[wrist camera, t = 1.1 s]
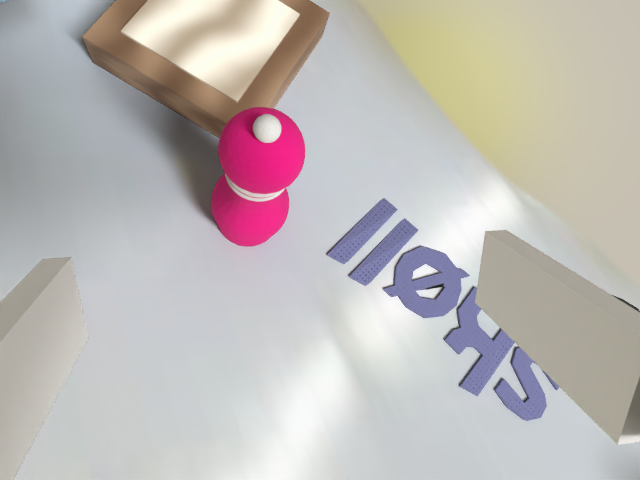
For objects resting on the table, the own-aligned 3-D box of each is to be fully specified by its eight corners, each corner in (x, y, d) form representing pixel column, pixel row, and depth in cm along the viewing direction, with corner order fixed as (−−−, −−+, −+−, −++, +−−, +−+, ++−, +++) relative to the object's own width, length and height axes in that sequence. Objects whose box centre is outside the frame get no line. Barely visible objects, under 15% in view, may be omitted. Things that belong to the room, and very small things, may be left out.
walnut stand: (92, 62, 47) (81, 34, 43) (189, -46, 53) (186, -80, 48) (243, 152, 48) (246, 133, 44) (321, 37, 54) (330, 11, 50)
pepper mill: (213, 253, 45) (210, 177, 26) (209, 184, 46) (205, 66, 27) (285, 249, 46) (332, 176, 27) (279, 183, 48) (320, 71, 29)
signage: (570, 373, 50) (522, 447, 46) (565, 373, 50) (518, 446, 47) (387, 193, 50) (327, 254, 47) (385, 195, 51) (325, 255, 48)
